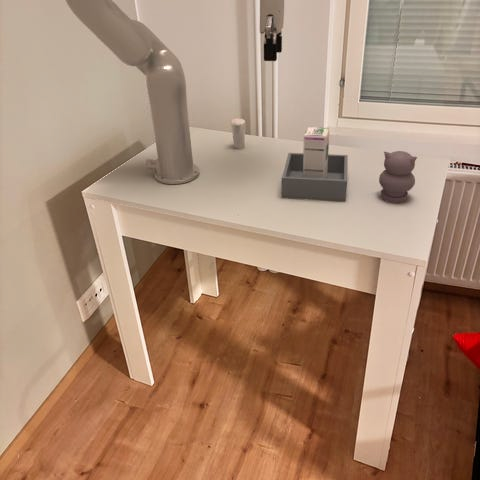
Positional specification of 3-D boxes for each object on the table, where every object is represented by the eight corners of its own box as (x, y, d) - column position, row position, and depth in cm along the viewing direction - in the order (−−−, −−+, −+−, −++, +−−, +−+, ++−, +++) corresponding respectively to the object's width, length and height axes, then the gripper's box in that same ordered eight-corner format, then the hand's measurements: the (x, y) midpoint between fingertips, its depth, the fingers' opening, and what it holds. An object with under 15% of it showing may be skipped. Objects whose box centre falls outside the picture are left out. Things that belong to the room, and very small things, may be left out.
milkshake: (243, 151, 146) (242, 120, 141) (229, 148, 149) (227, 117, 143) (251, 146, 149) (250, 115, 144) (237, 143, 152) (235, 113, 146)
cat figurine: (414, 193, 119) (422, 148, 113) (409, 207, 113) (417, 161, 107) (380, 187, 123) (386, 143, 116) (373, 200, 117) (379, 155, 110)
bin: (281, 197, 120) (281, 177, 117) (288, 171, 133) (288, 152, 130) (345, 201, 117) (347, 181, 114) (345, 173, 130) (347, 155, 127)
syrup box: (324, 189, 122) (327, 135, 114) (301, 187, 123) (303, 134, 115) (327, 179, 126) (330, 127, 118) (305, 177, 128) (307, 126, 120)
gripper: (263, -23, 119) (263, 49, 128) (251, -16, 105) (252, 64, 114) (293, -23, 117) (291, 49, 127) (284, -17, 103) (283, 64, 113)
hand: (273, 56), depth 120 cm, fingers open, 9 cm apart
